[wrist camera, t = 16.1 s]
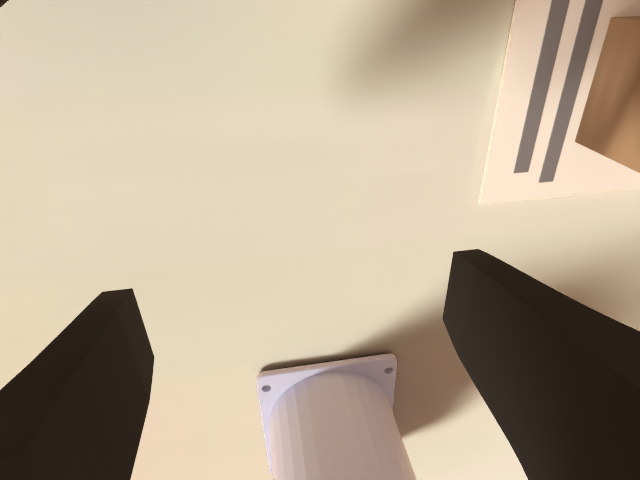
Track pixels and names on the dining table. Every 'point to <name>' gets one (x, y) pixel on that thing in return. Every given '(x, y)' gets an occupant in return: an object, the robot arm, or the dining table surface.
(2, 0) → the coffee cup
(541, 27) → the flyer
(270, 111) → the dining table surface
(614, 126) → the walnut cube
